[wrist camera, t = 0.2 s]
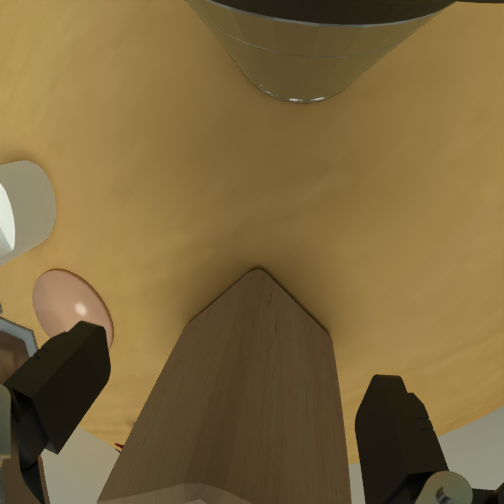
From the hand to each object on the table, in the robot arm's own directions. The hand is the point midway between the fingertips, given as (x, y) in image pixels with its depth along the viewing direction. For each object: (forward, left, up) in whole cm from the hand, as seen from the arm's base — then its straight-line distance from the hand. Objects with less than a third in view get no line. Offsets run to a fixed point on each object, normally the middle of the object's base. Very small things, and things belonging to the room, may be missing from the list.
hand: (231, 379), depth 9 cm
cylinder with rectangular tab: (+1, -25, -18) cm, 30 cm away
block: (+10, 0, -18) cm, 20 cm away
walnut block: (+22, -32, -17) cm, 42 cm away
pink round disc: (+13, -20, -17) cm, 29 cm away
